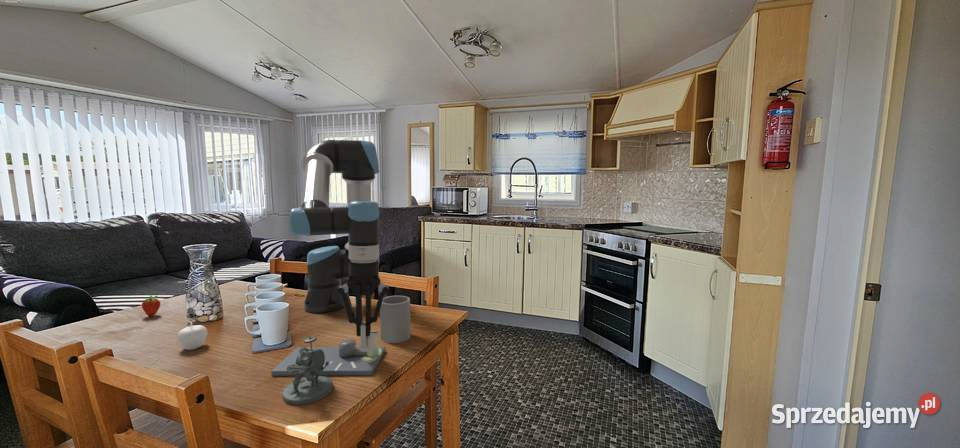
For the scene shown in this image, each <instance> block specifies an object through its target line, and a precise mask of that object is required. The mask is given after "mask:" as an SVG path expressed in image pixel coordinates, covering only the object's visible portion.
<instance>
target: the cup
mask: <svg viewBox="0 0 960 448" xmlns="http://www.w3.org/2000/svg"><path fill="white" fill-rule="evenodd" d="M379 314H380V315H379V317H380V318H379V319H380V322H379V323H380V340H381V341H382V342H384V343H388V344H399V343H402V342H406V341H408V340H409V339H411V336H412V331H411V330H412V329H411V325H412V324H411V299H410V297H409V296H405V295H390V296H389V295H388V296H386V297H385V296H384V297H383V301H382V304H381V308H380V311H379Z"/></svg>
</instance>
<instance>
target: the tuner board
mask: <svg viewBox="0 0 960 448" xmlns="http://www.w3.org/2000/svg"><path fill="white" fill-rule="evenodd" d="M302 347H303V346H302ZM302 347H301V346H297V347H296V348H295V349H294V350H293V351H292V352H291V353H290V354H289V355H287V356H286V357H285V358H284V359H283V360H282V361H281V362H279V364H278V365H276V366H275V367H274V368H273V369H272V370H271V372H270V373H271V376H273V377H274V376H275V377H278V376H279V377H280V376H282V377H285V376H287V377H289V376H294V377H296V374H297V373H288V372H287V369H286V368H287V367H288V366H289V365H292V364H295V363H296V359H297V356H298V355H299V354H300V352H299V350H300V349H301V348H302ZM305 347H306V346H305ZM306 348H307V349H308V350H311V346H307V347H306ZM312 349H313V350H317V349H321V350H322V351H323V352H324V355H325V362H324V366H325V363H326V362H329V364H328V365H327V366H326V367H325V368H324V369H323V371H324V372H322V371H321V372H317V373H318V376H372V375H373V374H374V372H375V370H376V368H377V366H378V364H379V363H380V361H381V360H382V357H383V356H384V353H385V351H386V347H385V346H378V355H376V356H366V355H353V356H351V357H340V356H339V346H312ZM356 349H361V346H356ZM365 349H367V346H366V348H365ZM324 366H323V367H324ZM313 375H314V376H317V374H313Z"/></svg>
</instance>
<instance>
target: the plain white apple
mask: <svg viewBox="0 0 960 448" xmlns="http://www.w3.org/2000/svg"><path fill="white" fill-rule="evenodd" d="M207 337H208V330H207V328H206V327H205V326H204V325H201V324H198V325H196V324H195V325H194V324H193V321H190V326H189V325H188V326H186V327H184V328H182V329H181V330H180V331H179V332H178V334H177V341H178V343H179V344H180V346H182V349H184V350H186V351H191V350H196V349H198V348H201V347H202V346H203V345H204V343H205V340H207Z"/></svg>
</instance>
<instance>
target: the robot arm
mask: <svg viewBox="0 0 960 448" xmlns="http://www.w3.org/2000/svg"><path fill="white" fill-rule="evenodd" d="M377 153H378V152H377V149H376V145H375V143H374V142H372V141H366V140H357V139H356V140H353V139H352V140H350V139H349V140H348V139H342V140H341V139H327V140H323V141H320V142H318V143H317V144H315V145H313V146H312V147H310V148H309V150H307V151H306V153H305V155H304V157H303V158H302V170H303V172H304V177H303V185H302V192H301V200H300V205H299V206H300V207H294V208H291V209H290V211H289V228H290V233H291V234H292V235H293V236H306V237H310V236H324V235H325V236H327V235H348V241H347V243H345V245H344V249H340V247H339V246H338V245H330V246H322V247H319V248H315V249H312V250H310V251H309V252H308V253H307V255H306V256H307V257H306V266H307V286H308V287H307V288H308V289H307V292H306V296H305V299H304V302H303V310H304V311H306V312H308V313H313V314H315V313H316V314H317V313H320V314H321V313H328V312H335V311H337V310H340V309H341V310H342V309H343V308H345V312H346V316H347V320H348V322H349V323H350V324H355V326H356V336H357V337H360V347H361V350H363V349H365V348H366V347H367V339H366V336H370V333H371V331H372V330H371V328H372V327H371V325H372V324H373V323H377V321H378V318H379V316H380V315H379V314H380V308H381V304H382V301H383V298H385V295H386V294H387V293H388V291H389V285H388V284H384V283H382V282H381V281H382V280H381V279H380V275H379V274H380V271H379V270H380V269H379V266H380V255H381V253H380V252H381V251H380V247H379V246H380V244H379V242H380V241H379V238H380V235H379V234H380V233H379V231H380V205H379V203H378V202H377V201H372V186H371V185H372V182H374V180H375V179H376V175H377V174H379V173H380V168H379V167H380V166H379V159H378V154H377ZM332 174H341V179H342V180H344V182H345V183H346V202H347V206H346V207H344V206H339V207H337V206H334V207H333V206H332V207H331V206H330V188H331V187H330V186H331V175H332ZM341 280H346V283H344V284H343V285H341ZM377 288H378V292H379V296H378V297H377V302H376V304H375V309H374V312H373V315H372V295H373V294H374V293H375V292H376V291H377ZM349 289H350V290H351V292H352V293H353V294H354V295H355V312H354V308H353V304H352V301H351V298H350V297H351V296H350V294H349ZM363 296H365V318H364V319H365V321H363Z"/></svg>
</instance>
